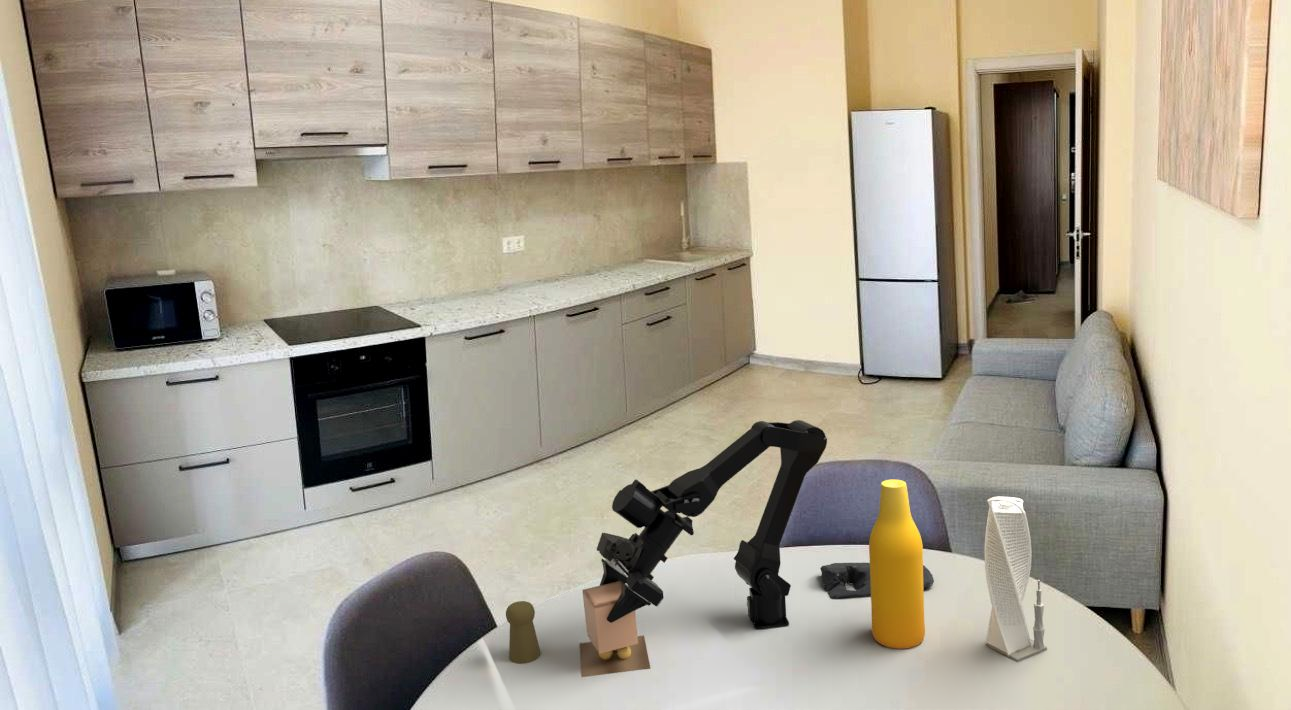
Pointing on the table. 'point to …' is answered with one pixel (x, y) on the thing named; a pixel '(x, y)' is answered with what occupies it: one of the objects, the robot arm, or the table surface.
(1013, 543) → the skyscraper
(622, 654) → the amber marbles
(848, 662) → the table surface
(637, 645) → the walnut pad
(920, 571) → the beer bottle
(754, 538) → the robot arm
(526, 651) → the olive pawn game piece
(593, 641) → the tan upright cuboid
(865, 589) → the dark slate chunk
